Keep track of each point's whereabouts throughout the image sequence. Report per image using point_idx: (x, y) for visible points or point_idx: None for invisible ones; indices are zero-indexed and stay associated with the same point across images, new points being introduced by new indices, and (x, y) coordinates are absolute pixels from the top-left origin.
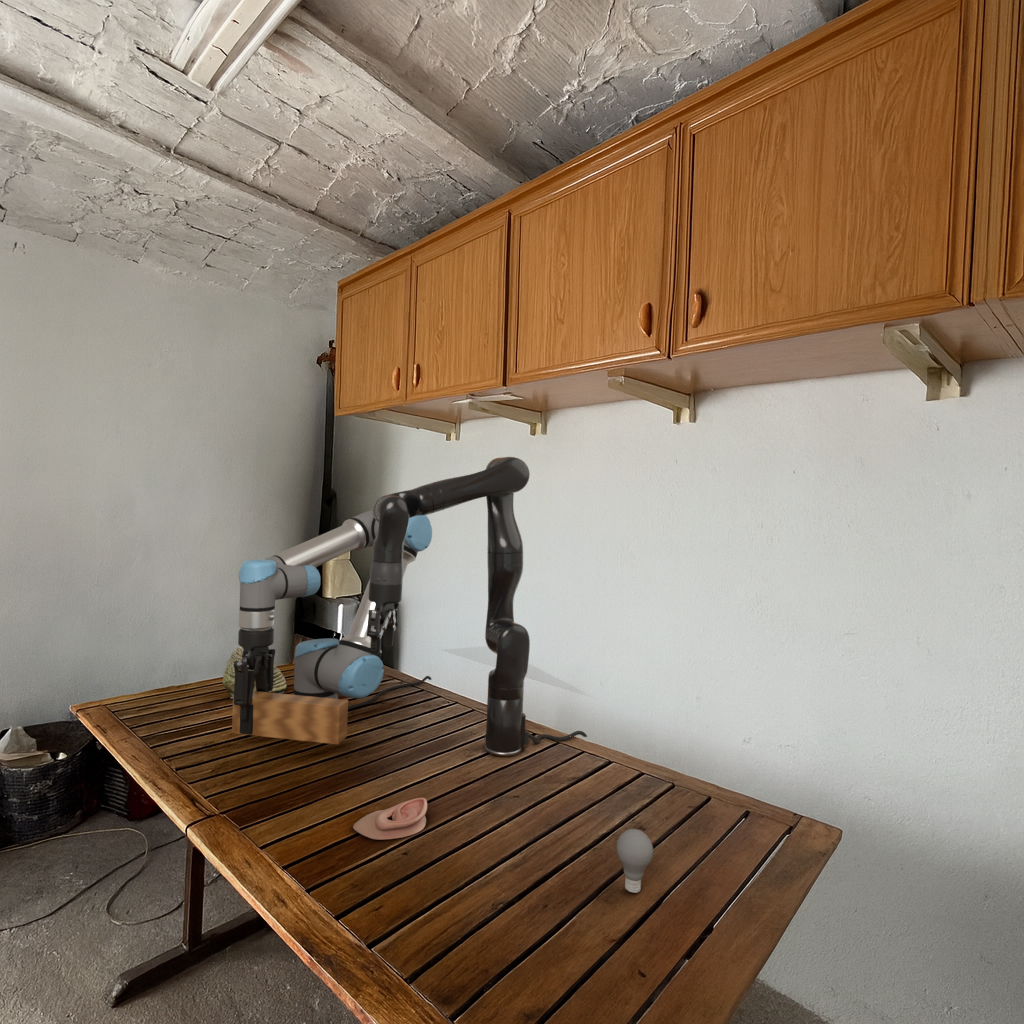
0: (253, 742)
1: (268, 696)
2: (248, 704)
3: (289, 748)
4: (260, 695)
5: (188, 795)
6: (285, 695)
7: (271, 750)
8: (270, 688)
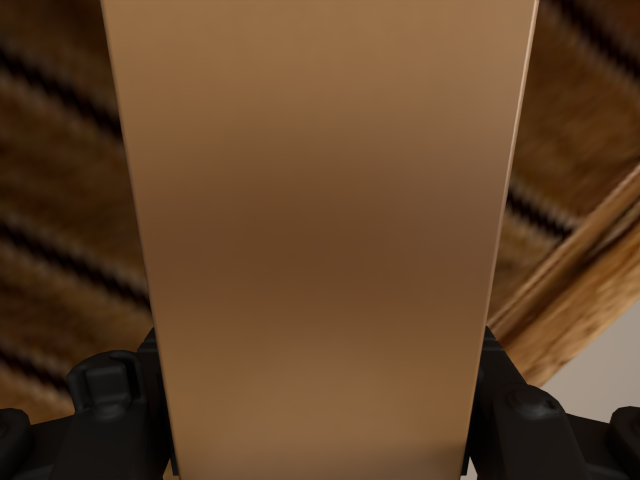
0: (90, 332)
1: (344, 301)
2: (556, 400)
3: (74, 170)
4: (329, 416)
5: (552, 295)
6: (192, 55)
7: (126, 231)
8: (9, 442)
